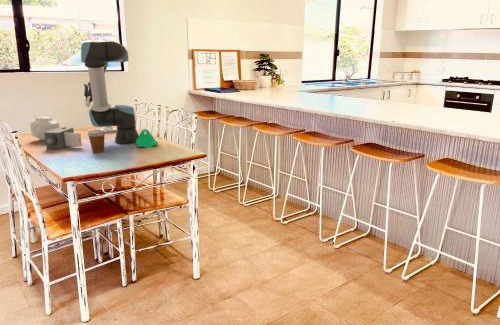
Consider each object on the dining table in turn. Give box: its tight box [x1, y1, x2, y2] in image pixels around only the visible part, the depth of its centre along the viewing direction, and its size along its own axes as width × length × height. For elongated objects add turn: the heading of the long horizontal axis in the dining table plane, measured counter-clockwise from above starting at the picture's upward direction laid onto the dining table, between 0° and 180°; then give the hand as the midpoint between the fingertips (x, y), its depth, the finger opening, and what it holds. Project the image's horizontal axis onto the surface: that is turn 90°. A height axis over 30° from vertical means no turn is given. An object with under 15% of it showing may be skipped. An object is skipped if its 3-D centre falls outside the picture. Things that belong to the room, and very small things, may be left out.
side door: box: [64, 132, 83, 147], centre depth 245 cm, size 11×1×8 cm, turn 81°
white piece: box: [99, 126, 117, 133], centre depth 296 cm, size 12×11×15 cm
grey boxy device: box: [44, 126, 75, 150], centre depth 248 cm, size 19×9×11 cm, turn 173°
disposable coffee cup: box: [87, 129, 106, 154], centre depth 235 cm, size 10×10×12 cm
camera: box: [30, 115, 60, 142], centre depth 263 cm, size 11×18×16 cm, turn 76°
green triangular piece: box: [135, 128, 159, 149], centre depth 249 cm, size 12×8×10 cm, turn 120°
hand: (87, 105), depth 259 cm, fingers closed
